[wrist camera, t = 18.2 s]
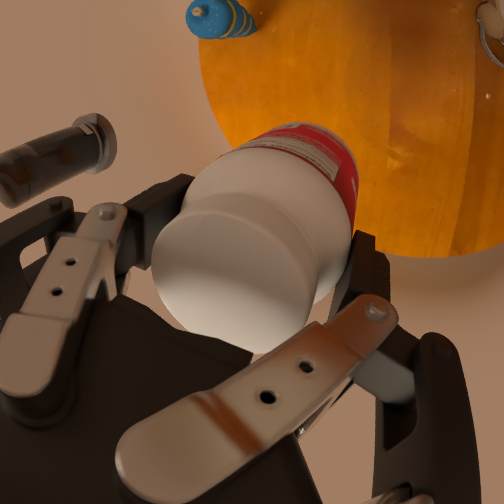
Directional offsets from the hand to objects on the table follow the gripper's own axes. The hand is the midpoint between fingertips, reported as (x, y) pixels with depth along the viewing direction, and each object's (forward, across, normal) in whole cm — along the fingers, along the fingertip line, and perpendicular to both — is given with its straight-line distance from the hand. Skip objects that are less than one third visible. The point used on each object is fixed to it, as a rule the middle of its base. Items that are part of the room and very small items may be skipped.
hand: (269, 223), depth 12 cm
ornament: (+31, +14, -10) cm, 35 cm away
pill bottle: (+7, 0, 0) cm, 7 cm away
